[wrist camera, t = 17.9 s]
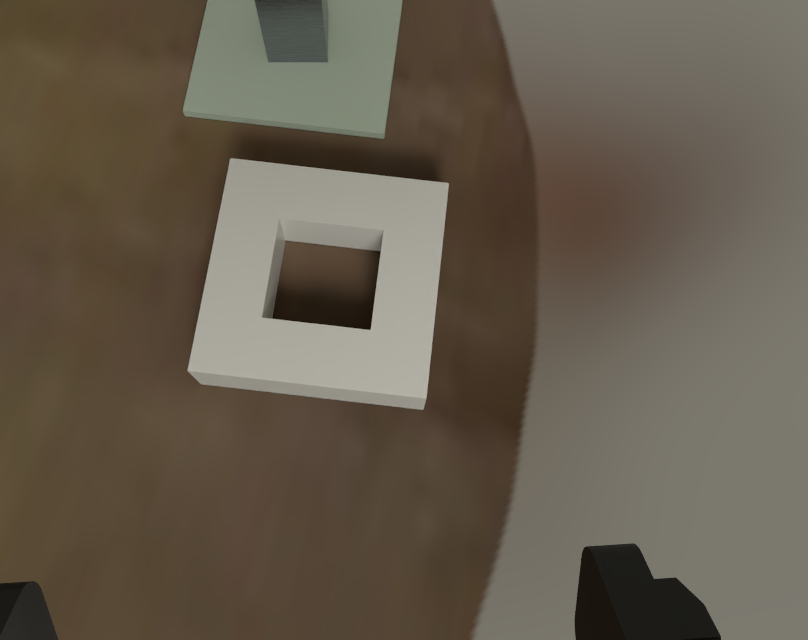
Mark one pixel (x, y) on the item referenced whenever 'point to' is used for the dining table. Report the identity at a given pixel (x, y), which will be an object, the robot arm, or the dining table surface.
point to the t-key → (294, 29)
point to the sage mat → (297, 71)
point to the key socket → (315, 343)
